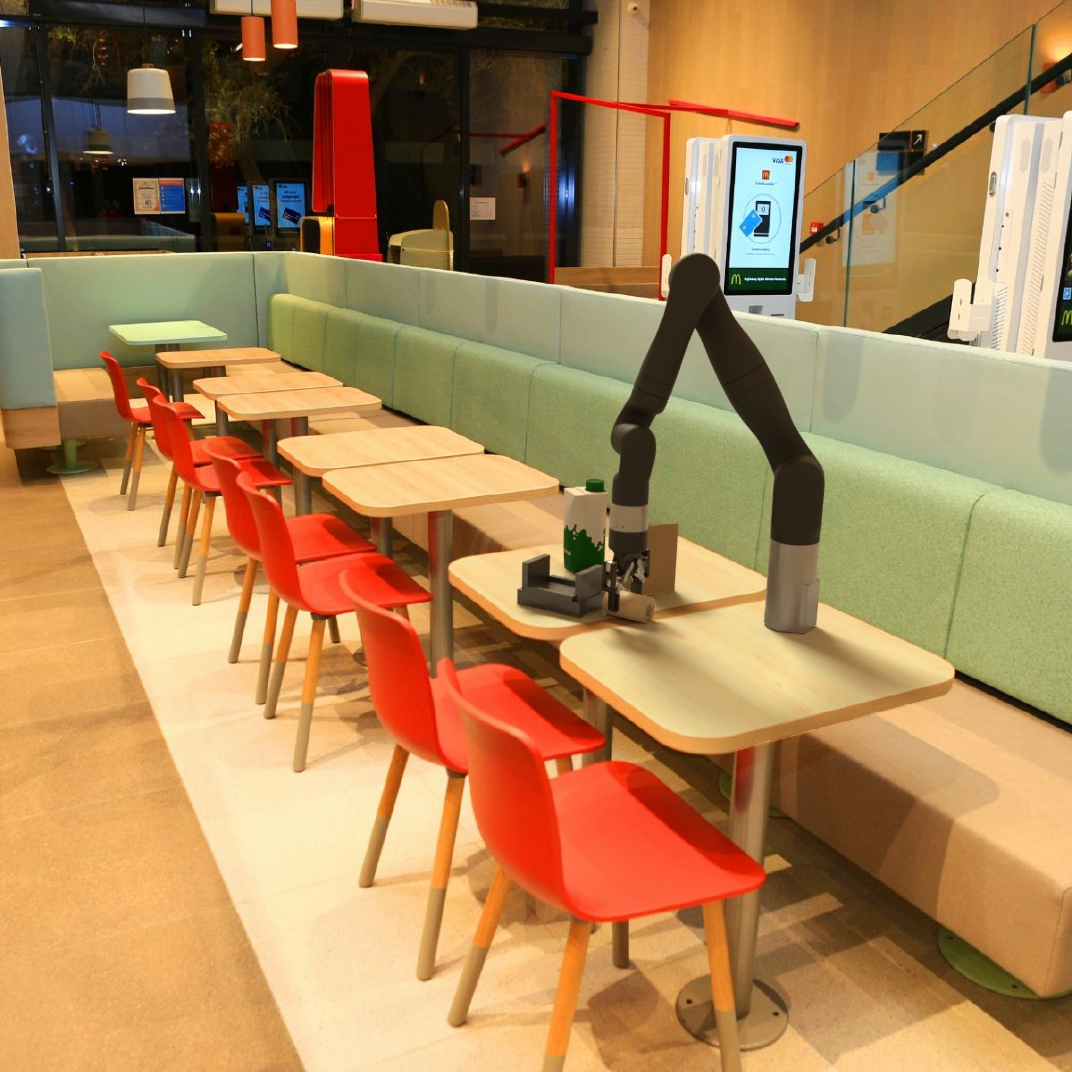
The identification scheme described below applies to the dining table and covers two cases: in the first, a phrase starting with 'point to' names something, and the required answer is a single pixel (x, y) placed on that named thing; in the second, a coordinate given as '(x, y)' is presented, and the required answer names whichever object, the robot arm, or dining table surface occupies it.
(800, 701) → the dining table surface
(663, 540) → the sandwich container
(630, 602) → the paper roll
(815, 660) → the dining table surface
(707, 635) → the dining table surface
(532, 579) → the roll holder
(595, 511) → the milk carton
